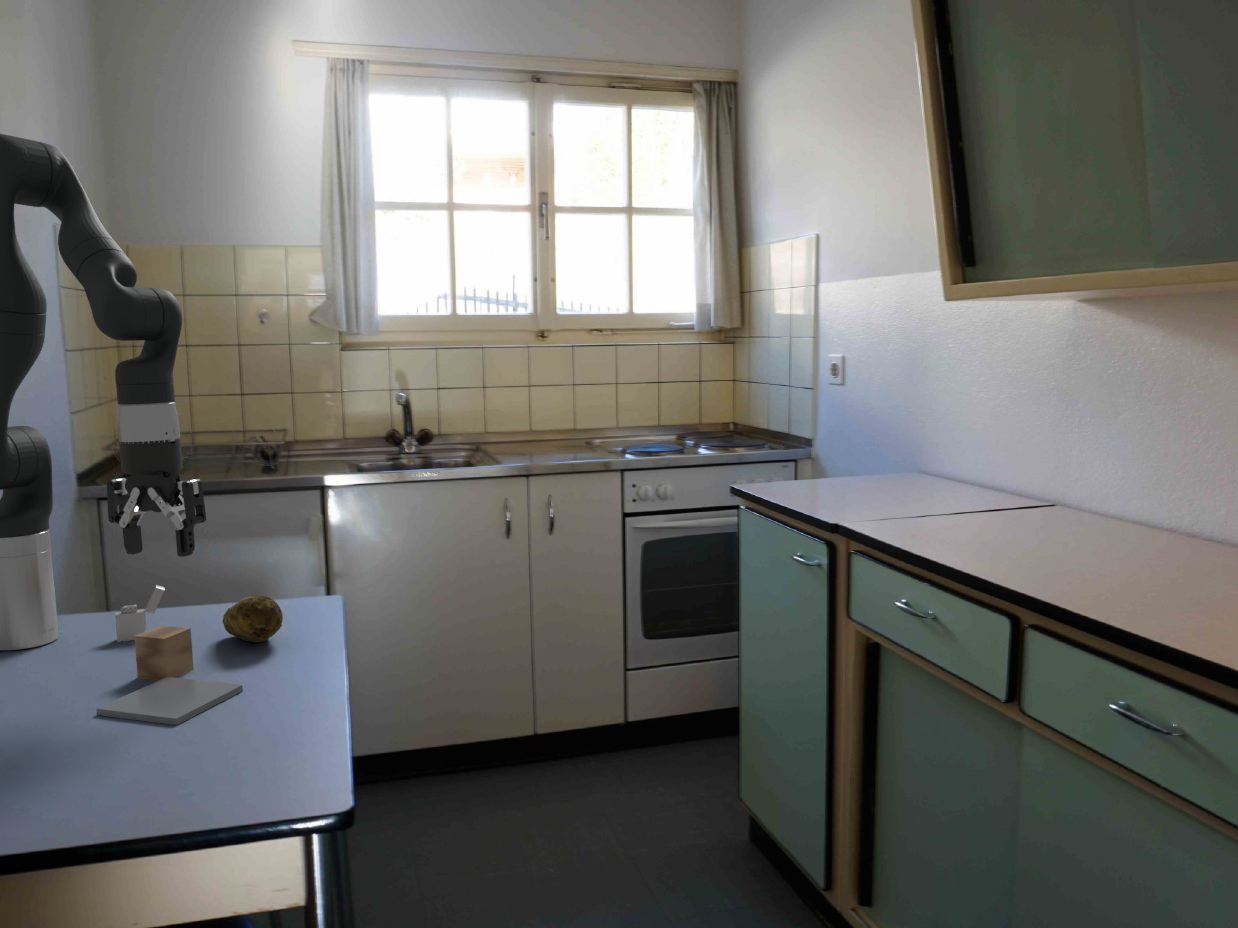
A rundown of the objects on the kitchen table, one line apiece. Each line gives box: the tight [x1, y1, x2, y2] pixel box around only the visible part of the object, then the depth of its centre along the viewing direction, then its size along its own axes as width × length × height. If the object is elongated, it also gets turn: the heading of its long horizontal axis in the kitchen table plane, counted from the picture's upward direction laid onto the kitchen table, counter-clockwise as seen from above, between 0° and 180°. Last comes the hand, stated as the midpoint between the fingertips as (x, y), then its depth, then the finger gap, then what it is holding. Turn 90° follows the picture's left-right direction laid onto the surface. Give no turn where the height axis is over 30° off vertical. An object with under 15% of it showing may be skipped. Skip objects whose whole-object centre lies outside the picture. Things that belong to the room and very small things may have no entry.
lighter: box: [115, 584, 166, 643], centre depth 153 cm, size 7×2×8 cm, turn 118°
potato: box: [222, 595, 284, 643], centre depth 149 cm, size 8×13×8 cm, turn 24°
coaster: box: [96, 677, 244, 726], centre depth 125 cm, size 12×12×1 cm
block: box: [134, 625, 194, 681], centre depth 136 cm, size 5×5×6 cm
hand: (160, 554), depth 134 cm, fingers open, 8 cm apart
